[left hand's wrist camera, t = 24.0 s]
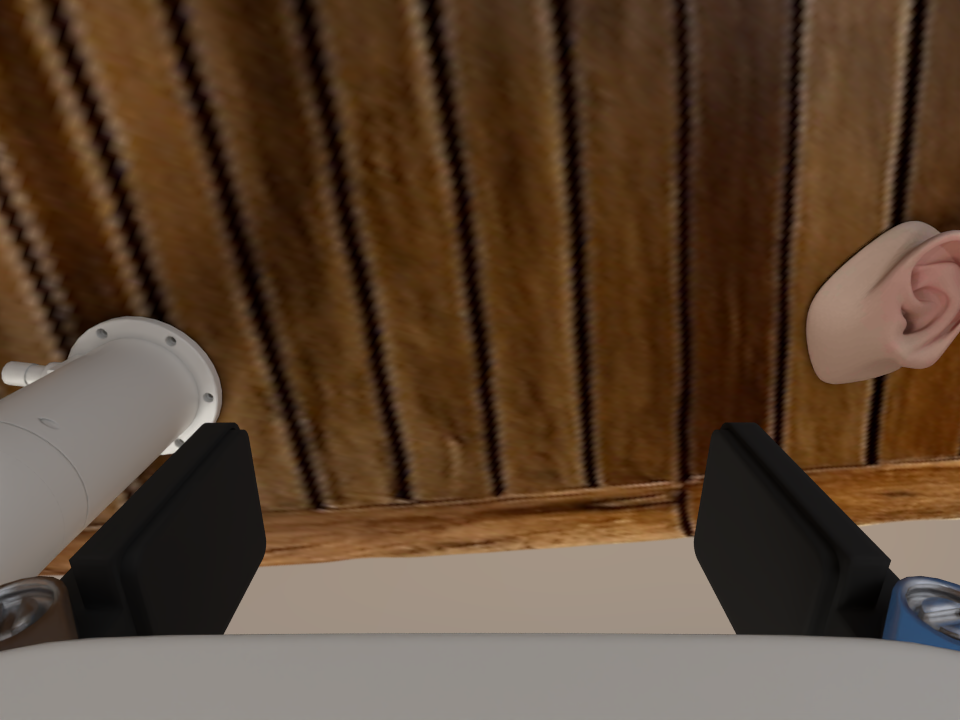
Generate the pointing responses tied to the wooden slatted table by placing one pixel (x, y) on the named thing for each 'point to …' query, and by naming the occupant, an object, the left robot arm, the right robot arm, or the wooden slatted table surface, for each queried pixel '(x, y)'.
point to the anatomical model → (888, 306)
